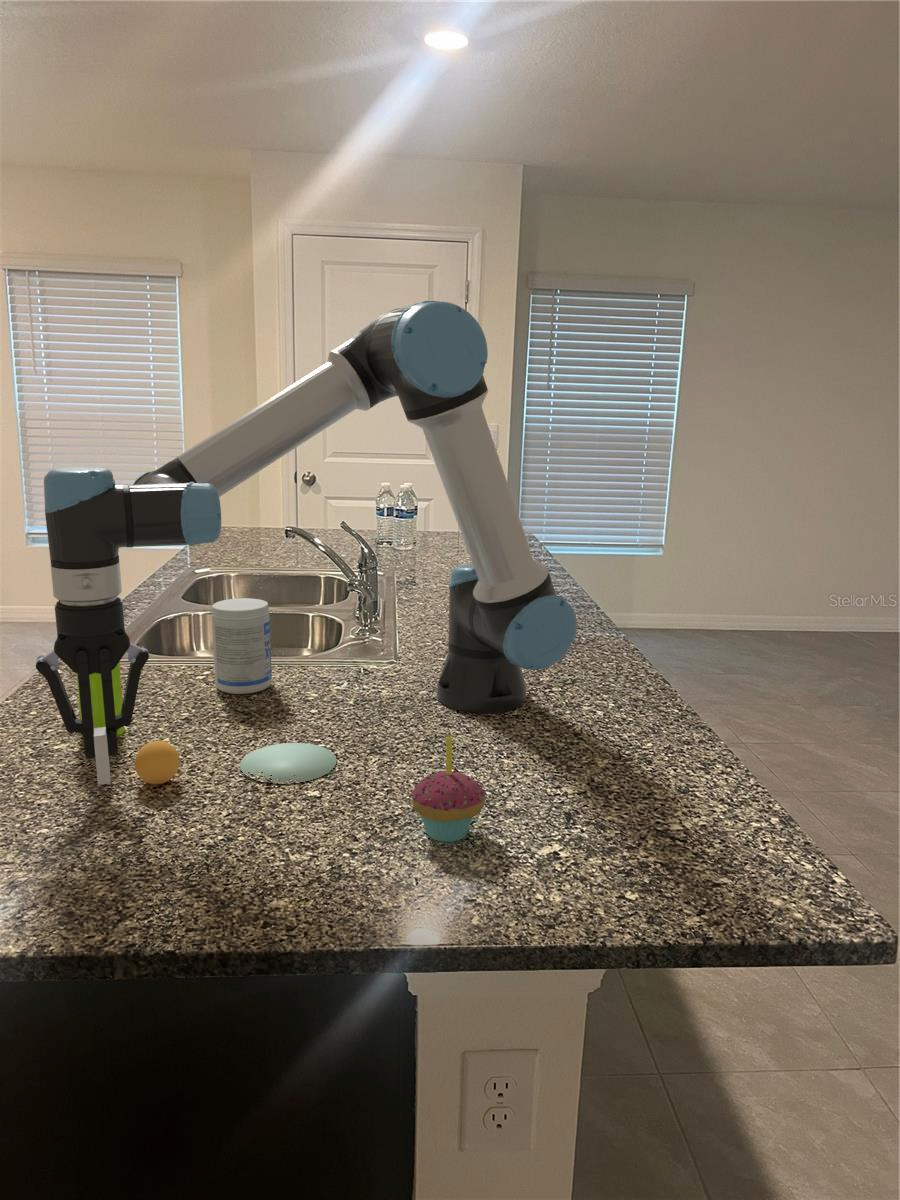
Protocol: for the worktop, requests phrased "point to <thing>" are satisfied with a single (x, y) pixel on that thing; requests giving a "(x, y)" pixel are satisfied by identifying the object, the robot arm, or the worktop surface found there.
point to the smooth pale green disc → (289, 762)
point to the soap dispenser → (98, 697)
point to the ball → (157, 762)
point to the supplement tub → (242, 645)
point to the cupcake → (448, 801)
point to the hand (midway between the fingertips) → (104, 779)
